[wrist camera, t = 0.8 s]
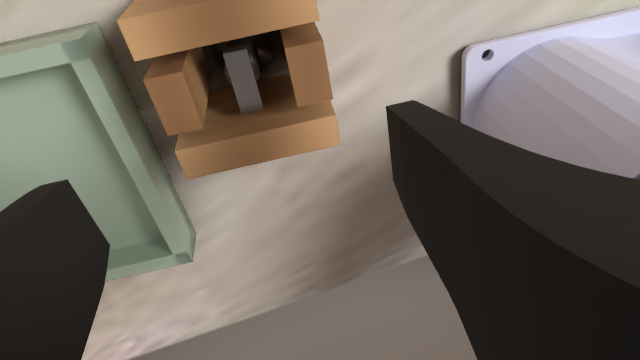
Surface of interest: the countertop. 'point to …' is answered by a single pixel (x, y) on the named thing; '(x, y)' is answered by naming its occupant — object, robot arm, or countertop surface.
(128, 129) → the tray
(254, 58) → the lever
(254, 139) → the wooden blocks
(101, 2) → the countertop surface
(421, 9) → the countertop surface
